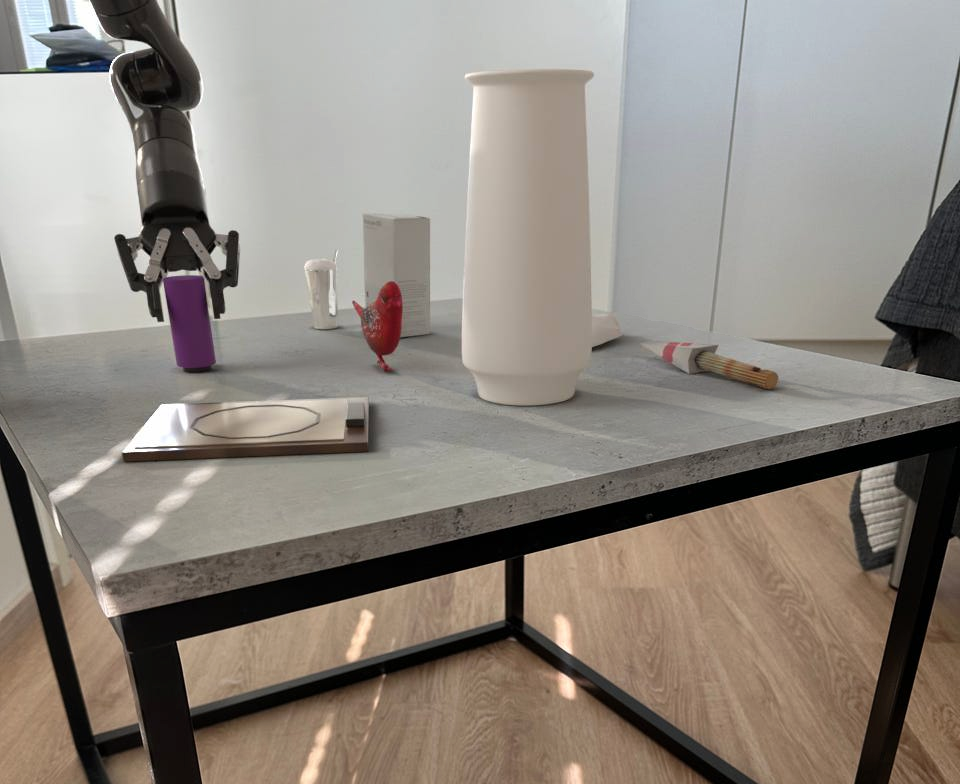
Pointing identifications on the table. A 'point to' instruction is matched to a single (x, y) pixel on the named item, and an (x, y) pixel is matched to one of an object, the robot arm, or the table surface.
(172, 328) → the dot marker
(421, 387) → the table surface
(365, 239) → the cosmetic box
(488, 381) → the vase
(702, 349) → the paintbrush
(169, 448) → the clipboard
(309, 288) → the milkshake
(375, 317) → the decorative bird figurine
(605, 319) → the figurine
